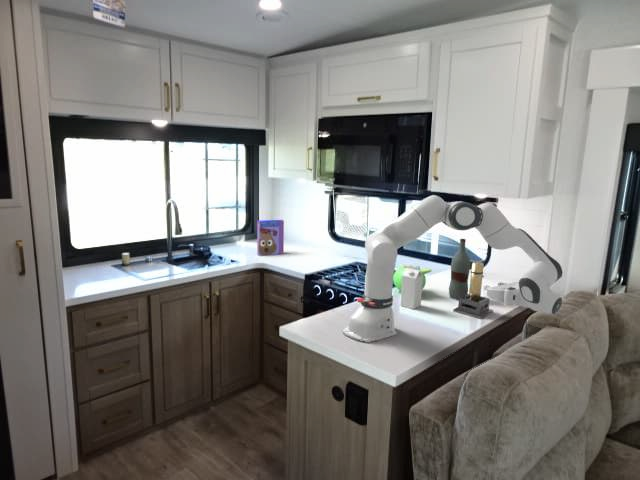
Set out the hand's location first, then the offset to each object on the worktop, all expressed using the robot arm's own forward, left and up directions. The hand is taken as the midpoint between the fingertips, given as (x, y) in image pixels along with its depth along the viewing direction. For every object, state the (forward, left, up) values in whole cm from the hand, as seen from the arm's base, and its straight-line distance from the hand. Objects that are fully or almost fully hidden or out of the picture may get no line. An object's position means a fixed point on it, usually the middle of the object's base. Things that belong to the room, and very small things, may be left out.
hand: (492, 285), depth 192 cm
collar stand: (+2, +8, -15) cm, 17 cm away
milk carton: (-13, +32, -15) cm, 38 cm away
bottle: (+16, +23, -15) cm, 32 cm away
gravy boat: (+4, +44, -15) cm, 47 cm away
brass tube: (+2, +8, -14) cm, 16 cm away
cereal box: (+3, +157, -15) cm, 158 cm away
